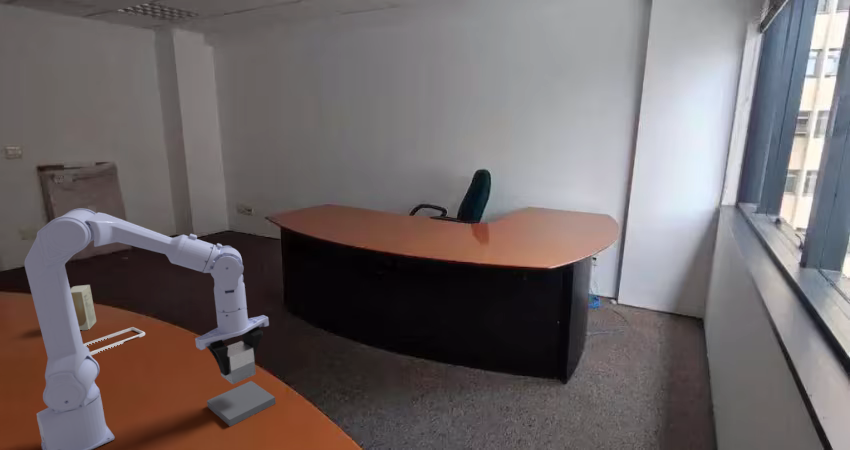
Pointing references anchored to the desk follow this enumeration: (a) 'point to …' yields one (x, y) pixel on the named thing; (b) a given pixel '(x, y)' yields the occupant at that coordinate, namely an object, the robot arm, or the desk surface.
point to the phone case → (116, 342)
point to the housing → (240, 362)
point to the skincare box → (83, 306)
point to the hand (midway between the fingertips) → (237, 368)
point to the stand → (240, 403)
